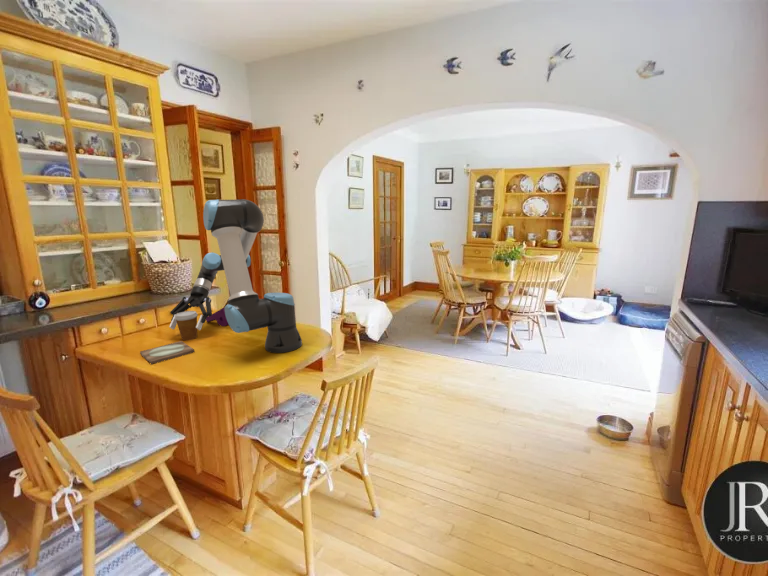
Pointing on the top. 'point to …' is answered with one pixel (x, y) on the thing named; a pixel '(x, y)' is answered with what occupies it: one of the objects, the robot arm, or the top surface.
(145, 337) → the top surface
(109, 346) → the top surface
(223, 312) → the mounting bracket
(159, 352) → the coaster
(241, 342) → the top surface
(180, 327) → the disposable coffee cup
